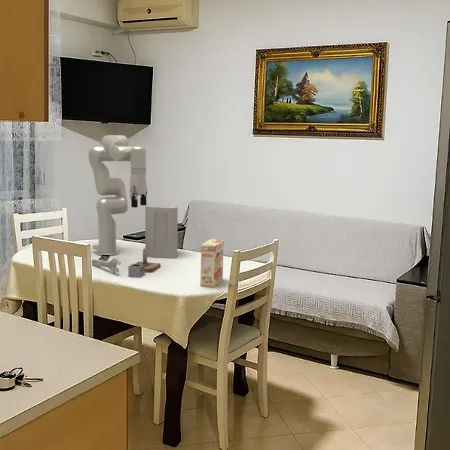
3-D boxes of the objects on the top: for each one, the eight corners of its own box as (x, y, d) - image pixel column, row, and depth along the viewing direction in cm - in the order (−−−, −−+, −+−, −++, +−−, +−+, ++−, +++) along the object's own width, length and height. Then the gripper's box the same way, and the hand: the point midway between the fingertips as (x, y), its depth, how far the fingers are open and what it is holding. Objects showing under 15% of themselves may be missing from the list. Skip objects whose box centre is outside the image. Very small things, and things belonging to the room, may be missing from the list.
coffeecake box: (214, 287, 269) (215, 245, 265) (199, 286, 271) (200, 244, 267) (223, 279, 283) (224, 239, 280) (209, 278, 285) (210, 238, 281)
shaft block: (129, 270, 295) (129, 250, 293) (138, 265, 306) (138, 245, 304) (151, 272, 292) (151, 252, 290) (160, 267, 303) (160, 247, 301)
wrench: (92, 269, 308) (121, 274, 285) (89, 269, 307) (118, 275, 284) (91, 254, 307) (120, 258, 284) (88, 254, 306) (117, 258, 283)
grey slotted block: (128, 276, 284) (128, 266, 283) (133, 273, 290) (133, 263, 289) (139, 277, 283) (139, 267, 282) (144, 274, 288) (144, 264, 288)
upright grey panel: (160, 260, 317) (160, 209, 312) (144, 255, 328) (144, 205, 323) (188, 256, 329) (188, 206, 324) (172, 251, 340) (172, 203, 335)
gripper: (139, 170, 302) (140, 204, 304) (123, 172, 285) (124, 207, 288) (152, 171, 299) (153, 204, 302) (137, 173, 283) (137, 208, 285)
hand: (139, 206), depth 295 cm, fingers open, 9 cm apart
